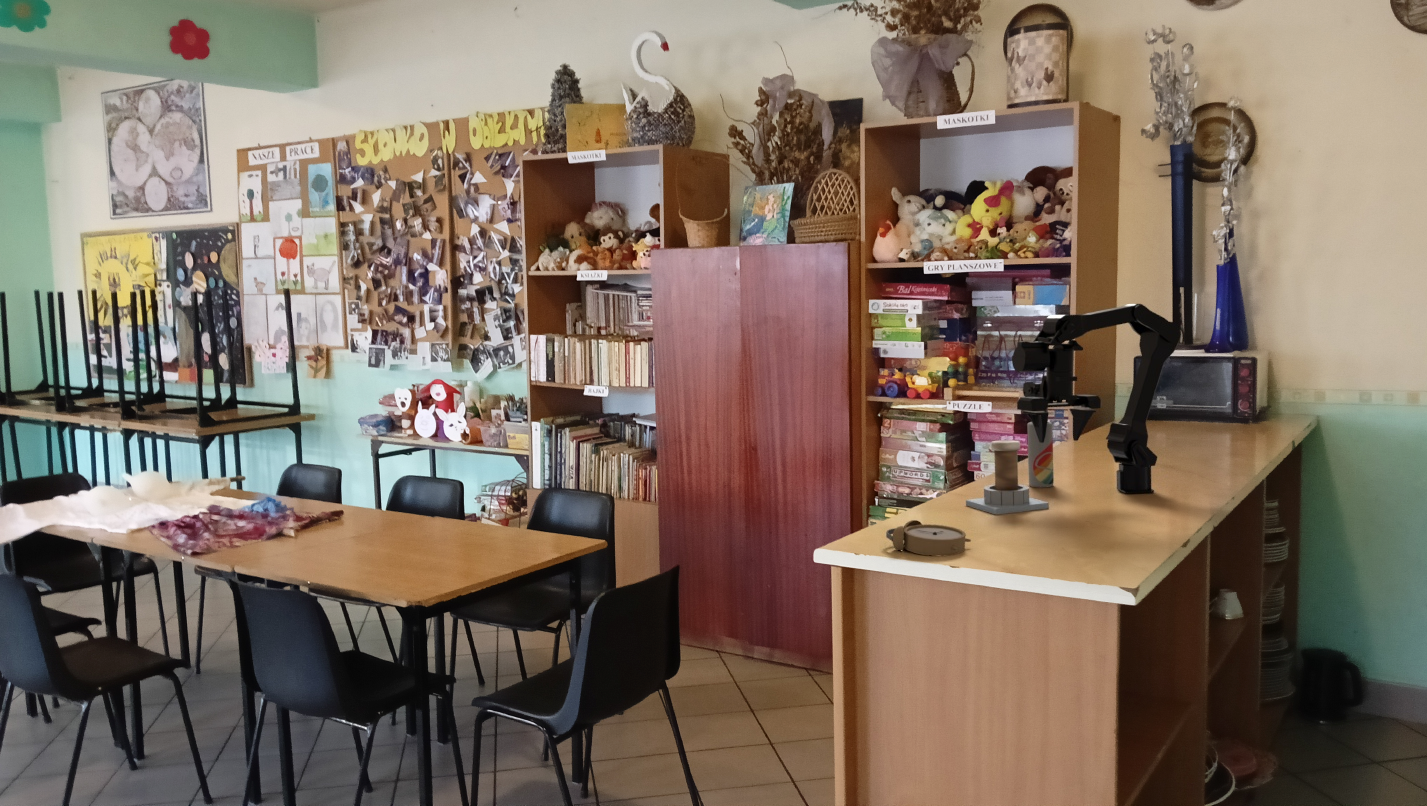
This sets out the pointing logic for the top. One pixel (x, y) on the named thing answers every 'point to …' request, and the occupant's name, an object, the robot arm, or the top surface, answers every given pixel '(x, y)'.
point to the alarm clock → (928, 538)
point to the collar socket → (1006, 501)
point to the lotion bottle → (1040, 457)
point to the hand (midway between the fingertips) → (1058, 441)
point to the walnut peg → (1006, 464)
